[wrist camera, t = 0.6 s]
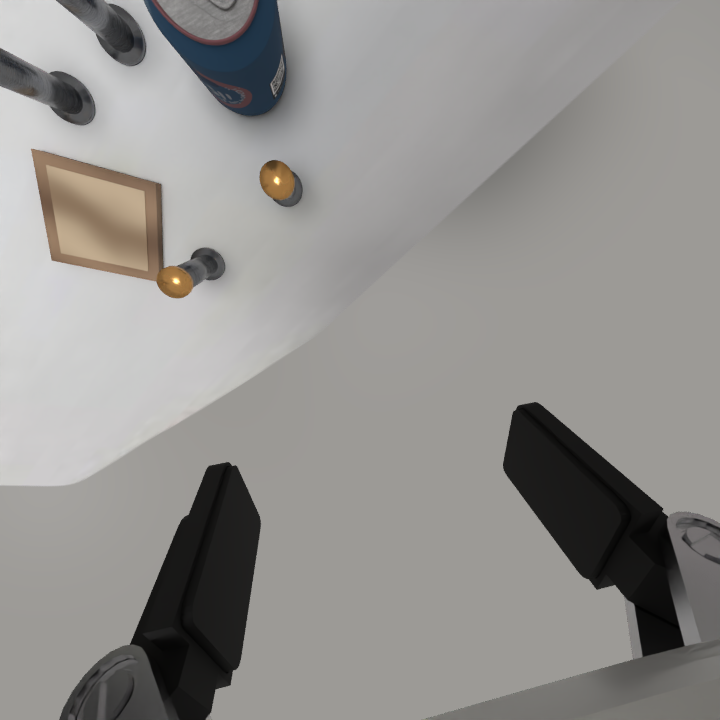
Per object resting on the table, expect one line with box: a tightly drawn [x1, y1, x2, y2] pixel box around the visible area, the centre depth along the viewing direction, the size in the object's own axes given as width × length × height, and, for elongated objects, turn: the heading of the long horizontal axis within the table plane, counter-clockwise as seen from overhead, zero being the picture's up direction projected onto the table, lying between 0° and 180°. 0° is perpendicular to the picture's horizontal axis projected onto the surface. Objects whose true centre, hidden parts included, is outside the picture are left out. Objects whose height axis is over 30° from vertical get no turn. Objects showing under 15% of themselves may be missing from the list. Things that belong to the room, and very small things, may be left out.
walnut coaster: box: [31, 149, 163, 281], centre depth 27 cm, size 9×9×1 cm
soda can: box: [144, 0, 286, 116], centre depth 19 cm, size 7×7×12 cm
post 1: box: [0, 48, 95, 125], centre depth 19 cm, size 3×3×9 cm
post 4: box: [260, 160, 302, 207], centre depth 24 cm, size 3×3×9 cm
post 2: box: [56, 0, 146, 66], centre depth 18 cm, size 3×3×9 cm
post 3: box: [157, 248, 225, 298], centre depth 26 cm, size 3×3×9 cm
